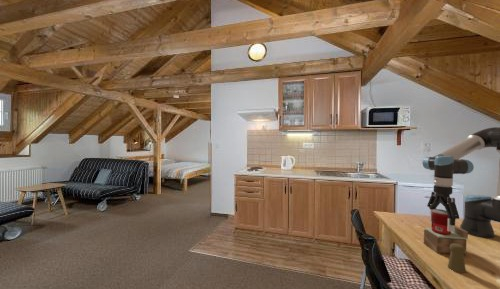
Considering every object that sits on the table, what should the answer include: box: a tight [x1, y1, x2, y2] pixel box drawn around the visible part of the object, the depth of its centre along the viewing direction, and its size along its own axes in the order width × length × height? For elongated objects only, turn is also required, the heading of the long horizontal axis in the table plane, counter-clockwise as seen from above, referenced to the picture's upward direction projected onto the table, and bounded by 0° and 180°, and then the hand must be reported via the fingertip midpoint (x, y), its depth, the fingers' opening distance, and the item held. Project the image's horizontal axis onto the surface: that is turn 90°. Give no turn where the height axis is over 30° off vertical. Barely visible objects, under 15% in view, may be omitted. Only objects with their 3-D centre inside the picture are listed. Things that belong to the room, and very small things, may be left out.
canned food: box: [430, 208, 452, 235], centre depth 121 cm, size 8×8×11 cm
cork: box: [447, 243, 467, 274], centre depth 102 cm, size 6×6×11 cm
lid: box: [424, 225, 469, 240], centre depth 121 cm, size 13×11×4 cm
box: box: [423, 229, 467, 256], centre depth 121 cm, size 13×11×8 cm
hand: (441, 226), depth 121 cm, fingers open, 13 cm apart
